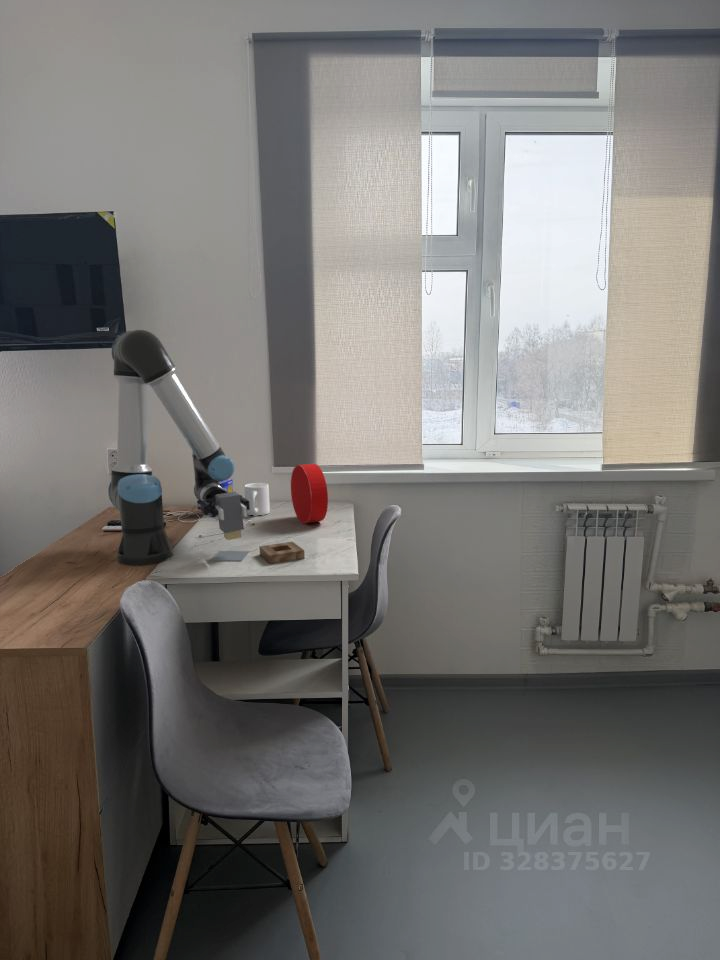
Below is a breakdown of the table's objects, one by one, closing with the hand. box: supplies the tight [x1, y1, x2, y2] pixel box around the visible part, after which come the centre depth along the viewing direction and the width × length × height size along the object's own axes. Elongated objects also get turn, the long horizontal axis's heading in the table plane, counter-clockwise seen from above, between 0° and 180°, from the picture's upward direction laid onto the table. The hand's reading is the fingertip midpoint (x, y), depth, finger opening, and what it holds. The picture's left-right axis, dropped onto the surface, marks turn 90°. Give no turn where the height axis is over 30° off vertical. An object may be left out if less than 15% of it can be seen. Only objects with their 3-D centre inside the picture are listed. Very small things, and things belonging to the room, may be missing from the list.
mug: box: [244, 482, 271, 517], centre depth 240 cm, size 9×12×11 cm
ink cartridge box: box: [208, 478, 234, 516], centre depth 244 cm, size 10×6×14 cm, turn 163°
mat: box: [209, 550, 250, 562], centre depth 190 cm, size 9×9×1 cm
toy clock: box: [290, 463, 329, 524], centre depth 228 cm, size 20×6×20 cm, turn 25°
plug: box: [215, 490, 245, 541], centre depth 188 cm, size 6×6×12 cm
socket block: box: [259, 541, 306, 565], centre depth 188 cm, size 10×10×3 cm
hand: (233, 513), depth 183 cm, fingers closed on plug, 6 cm apart
